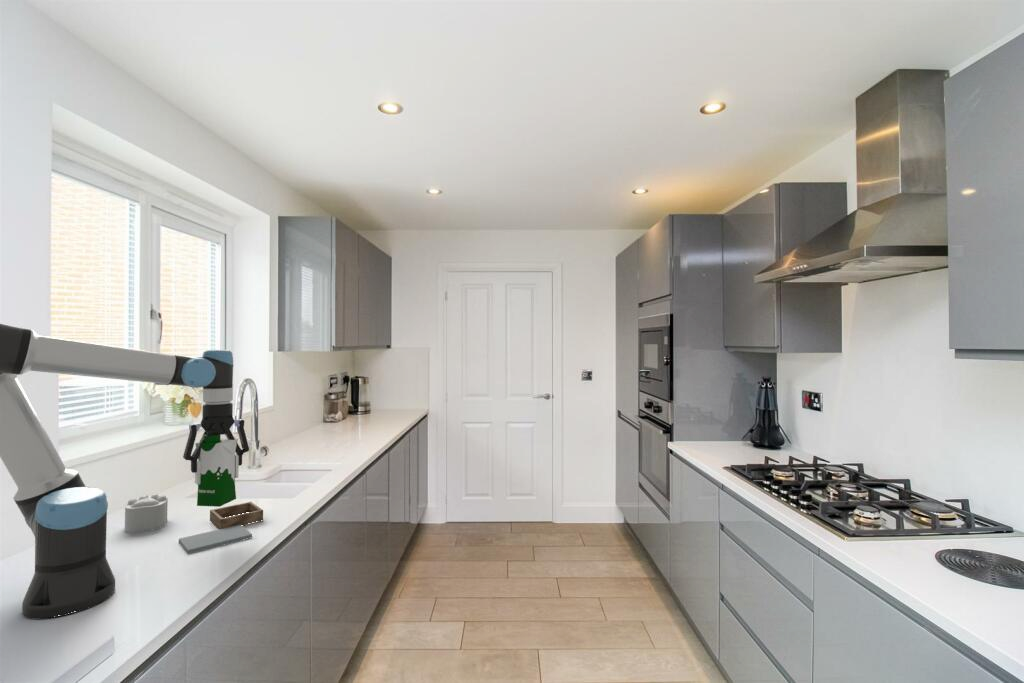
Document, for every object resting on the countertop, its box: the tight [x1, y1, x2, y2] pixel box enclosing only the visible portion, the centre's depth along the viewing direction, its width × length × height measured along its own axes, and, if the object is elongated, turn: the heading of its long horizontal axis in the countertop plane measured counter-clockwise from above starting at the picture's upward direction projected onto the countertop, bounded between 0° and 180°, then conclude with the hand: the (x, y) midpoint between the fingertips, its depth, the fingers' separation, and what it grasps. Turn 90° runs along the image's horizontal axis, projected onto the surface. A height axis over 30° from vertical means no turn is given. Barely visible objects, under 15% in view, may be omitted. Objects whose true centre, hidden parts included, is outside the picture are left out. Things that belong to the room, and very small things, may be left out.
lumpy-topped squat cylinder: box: [124, 493, 169, 533], centre depth 153 cm, size 10×13×9 cm
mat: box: [178, 525, 253, 555], centre depth 141 cm, size 16×11×1 cm
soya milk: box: [195, 434, 239, 508], centre depth 141 cm, size 9×9×20 cm
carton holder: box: [209, 501, 264, 530], centre depth 156 cm, size 12×12×4 cm
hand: (217, 480), depth 141 cm, fingers closed on soya milk, 9 cm apart
